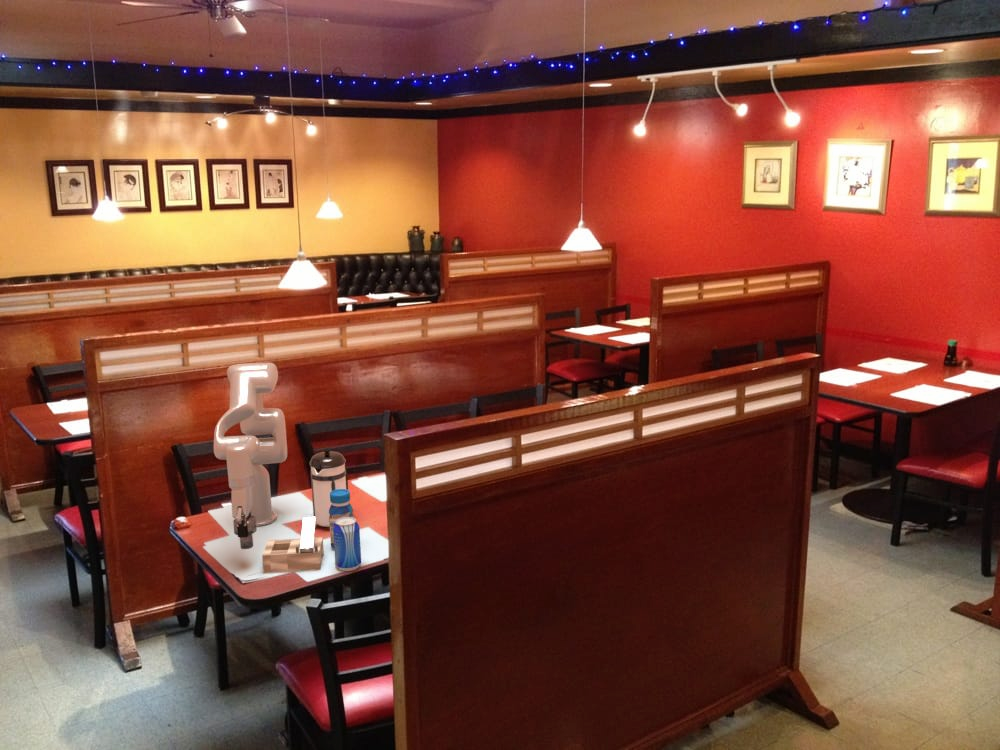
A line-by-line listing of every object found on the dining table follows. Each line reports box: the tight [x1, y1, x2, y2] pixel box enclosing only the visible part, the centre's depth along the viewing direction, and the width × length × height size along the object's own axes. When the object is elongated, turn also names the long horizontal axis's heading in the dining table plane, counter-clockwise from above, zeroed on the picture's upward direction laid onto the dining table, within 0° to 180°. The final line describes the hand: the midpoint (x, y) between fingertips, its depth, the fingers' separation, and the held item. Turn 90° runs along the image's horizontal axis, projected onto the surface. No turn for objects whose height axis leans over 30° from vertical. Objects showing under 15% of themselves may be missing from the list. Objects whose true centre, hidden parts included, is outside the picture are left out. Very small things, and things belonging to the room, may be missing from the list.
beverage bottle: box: [329, 489, 355, 550], centre depth 289 cm, size 8×8×20 cm
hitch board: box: [262, 536, 325, 574], centre depth 278 cm, size 12×18×8 cm, turn 96°
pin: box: [232, 515, 258, 550], centre depth 276 cm, size 7×7×10 cm
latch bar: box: [300, 516, 316, 553], centre depth 277 cm, size 14×4×2 cm
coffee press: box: [309, 446, 349, 529], centre depth 308 cm, size 17×16×30 cm
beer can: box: [333, 517, 362, 572], centre depth 274 cm, size 8×8×16 cm
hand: (245, 531), depth 275 cm, fingers closed on pin, 7 cm apart
